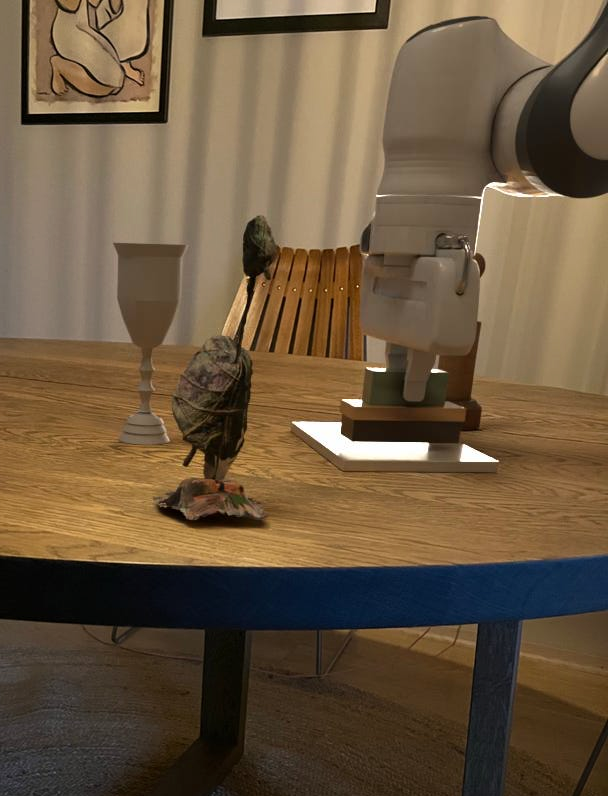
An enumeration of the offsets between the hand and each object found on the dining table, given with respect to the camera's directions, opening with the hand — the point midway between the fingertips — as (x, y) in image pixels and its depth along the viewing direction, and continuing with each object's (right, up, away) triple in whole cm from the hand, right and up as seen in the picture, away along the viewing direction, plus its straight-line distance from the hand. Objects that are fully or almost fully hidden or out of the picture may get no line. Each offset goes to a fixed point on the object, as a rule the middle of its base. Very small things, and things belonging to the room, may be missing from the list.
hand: (404, 397), depth 94 cm
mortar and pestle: (+10, +1, +20) cm, 23 cm away
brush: (0, -4, +1) cm, 4 cm away
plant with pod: (-19, -13, -19) cm, 30 cm away
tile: (0, -4, +5) cm, 7 cm away
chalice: (-24, -3, +7) cm, 25 cm away
